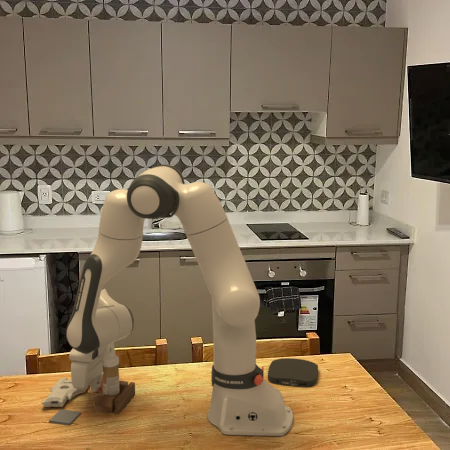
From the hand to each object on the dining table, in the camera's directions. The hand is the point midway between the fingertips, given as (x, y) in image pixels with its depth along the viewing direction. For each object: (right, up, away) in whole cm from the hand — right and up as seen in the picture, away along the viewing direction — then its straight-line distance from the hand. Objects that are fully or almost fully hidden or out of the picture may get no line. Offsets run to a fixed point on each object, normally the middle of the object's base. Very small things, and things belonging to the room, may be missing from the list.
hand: (96, 389), depth 165 cm
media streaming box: (+57, 0, +12) cm, 59 cm away
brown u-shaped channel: (+6, -3, -5) cm, 8 cm away
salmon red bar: (+2, 0, +7) cm, 8 cm away
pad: (-5, -4, -12) cm, 14 cm away
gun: (-8, -2, 0) cm, 8 cm away
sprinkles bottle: (+5, -3, -4) cm, 7 cm away
